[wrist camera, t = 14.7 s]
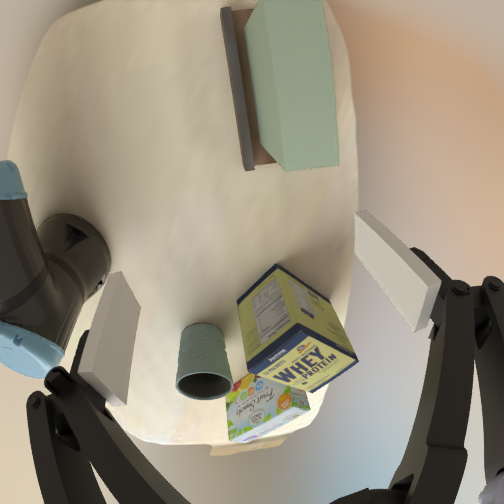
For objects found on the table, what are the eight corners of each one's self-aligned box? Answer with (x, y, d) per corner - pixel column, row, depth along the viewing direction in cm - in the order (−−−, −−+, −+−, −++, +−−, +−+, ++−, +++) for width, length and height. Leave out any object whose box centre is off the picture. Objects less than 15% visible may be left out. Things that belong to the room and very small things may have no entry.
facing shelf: (243, 165, 38) (245, 171, 35) (220, 14, 26) (220, 7, 23) (317, 155, 38) (324, 160, 35) (300, 10, 26) (307, 4, 24)
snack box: (278, 347, 59) (293, 406, 46) (296, 354, 61) (312, 410, 49) (223, 390, 66) (228, 442, 54) (240, 395, 69) (247, 444, 56)
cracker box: (243, 29, 27) (261, -6, 15) (284, 27, 27) (323, -4, 15) (260, 143, 35) (285, 171, 23) (298, 138, 35) (341, 165, 24)
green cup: (179, 317, 51) (176, 369, 41) (232, 322, 53) (239, 374, 43) (177, 350, 56) (175, 398, 46) (224, 354, 58) (228, 402, 48)
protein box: (293, 331, 57) (313, 394, 44) (235, 300, 50) (245, 372, 37) (331, 300, 53) (361, 361, 40) (275, 261, 47) (299, 330, 34)
